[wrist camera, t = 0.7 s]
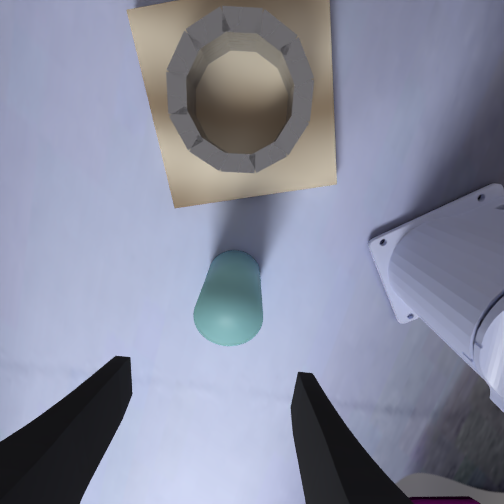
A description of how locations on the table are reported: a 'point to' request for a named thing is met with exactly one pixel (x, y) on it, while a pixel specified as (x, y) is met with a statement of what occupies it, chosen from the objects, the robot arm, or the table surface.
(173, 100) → the socket collar
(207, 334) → the teal cylinder
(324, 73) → the dock plate
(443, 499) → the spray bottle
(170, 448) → the table surface
